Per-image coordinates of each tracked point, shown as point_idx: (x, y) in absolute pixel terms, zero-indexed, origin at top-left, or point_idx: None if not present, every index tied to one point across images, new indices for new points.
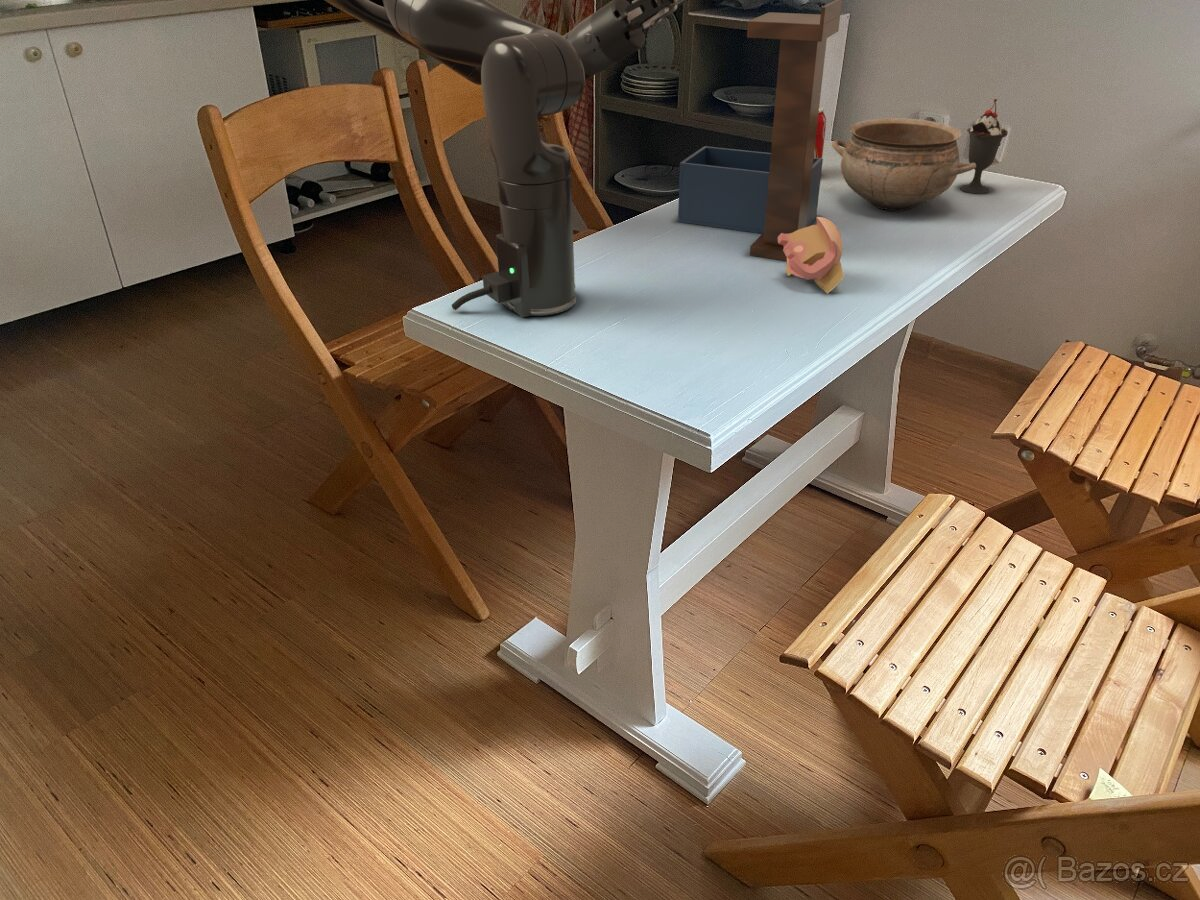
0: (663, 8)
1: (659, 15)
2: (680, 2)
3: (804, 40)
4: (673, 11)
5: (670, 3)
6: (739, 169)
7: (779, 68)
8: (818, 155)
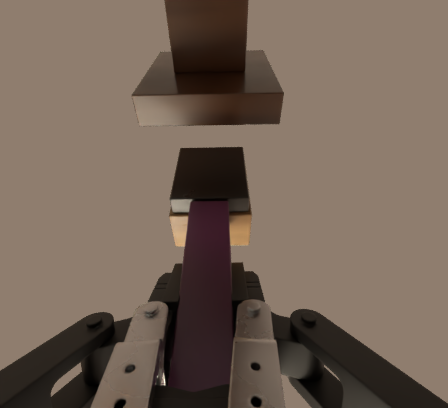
0: (87, 338)
1: (107, 369)
2: (260, 328)
3: (155, 59)
4: (275, 352)
5: (98, 313)
6: None
7: (165, 2)
8: None
